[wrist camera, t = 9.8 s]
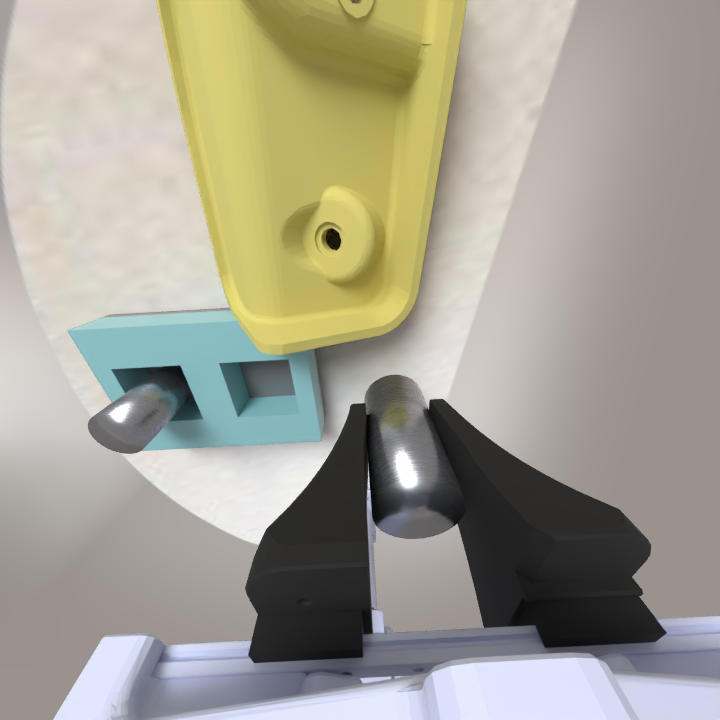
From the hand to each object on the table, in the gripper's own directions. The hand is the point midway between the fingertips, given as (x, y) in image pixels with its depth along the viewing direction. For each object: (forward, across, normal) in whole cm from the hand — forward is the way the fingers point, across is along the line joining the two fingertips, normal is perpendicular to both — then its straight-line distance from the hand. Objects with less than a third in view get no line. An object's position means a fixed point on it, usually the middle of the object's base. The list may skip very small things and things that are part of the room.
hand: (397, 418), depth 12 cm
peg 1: (+8, +15, +2) cm, 17 cm away
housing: (+8, +12, +2) cm, 15 cm away
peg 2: (+2, 0, 0) cm, 2 cm away
